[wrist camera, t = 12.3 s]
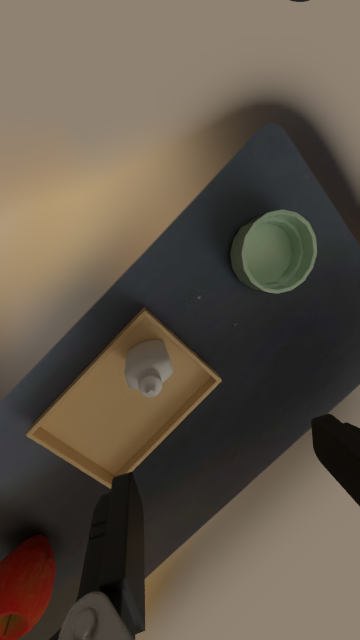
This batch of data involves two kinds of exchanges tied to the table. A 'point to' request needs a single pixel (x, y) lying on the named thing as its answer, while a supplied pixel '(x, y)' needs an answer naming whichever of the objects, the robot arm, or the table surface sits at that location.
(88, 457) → the tray
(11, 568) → the apple
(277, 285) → the bowl
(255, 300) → the table surface
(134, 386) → the eye dropper bottle
